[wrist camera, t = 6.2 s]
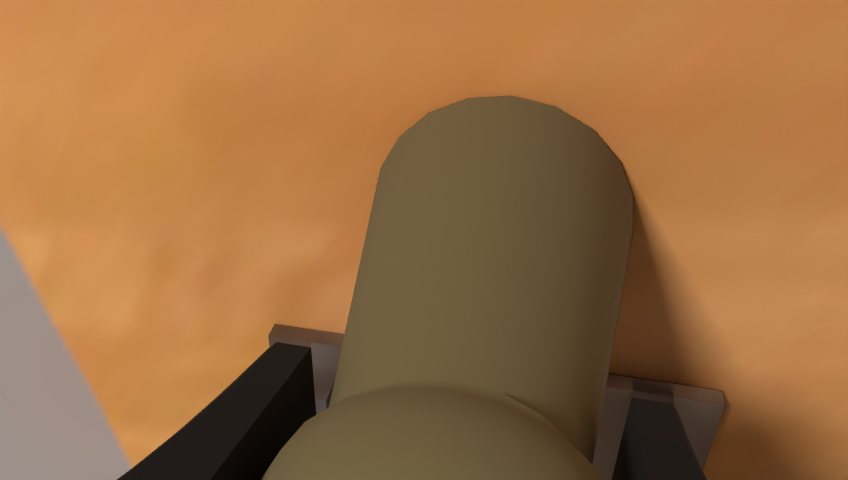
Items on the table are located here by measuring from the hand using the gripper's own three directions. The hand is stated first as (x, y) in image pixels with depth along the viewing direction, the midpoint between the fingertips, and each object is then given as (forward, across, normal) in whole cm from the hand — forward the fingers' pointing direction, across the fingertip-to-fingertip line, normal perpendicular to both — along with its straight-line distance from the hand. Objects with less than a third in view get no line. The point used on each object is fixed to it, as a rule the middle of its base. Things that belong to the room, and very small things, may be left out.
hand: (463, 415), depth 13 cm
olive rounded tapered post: (+7, 0, 0) cm, 7 cm away
